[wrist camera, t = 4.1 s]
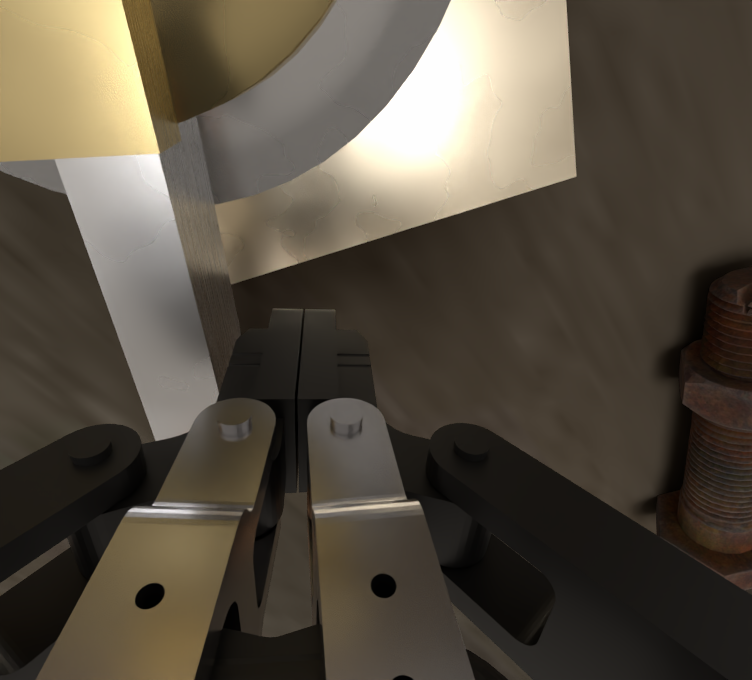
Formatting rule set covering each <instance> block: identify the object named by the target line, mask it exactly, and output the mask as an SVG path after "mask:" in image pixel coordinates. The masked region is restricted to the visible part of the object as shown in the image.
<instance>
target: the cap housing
mask: <svg viewBox="0 0 752 680" xmlns="http://www.w3.org/2000/svg"><path fill="white" fill-rule="evenodd" d="M196 117H197V122H198V127H199V132H200V137H201V141H202V146H203V151H204V156H205V161H206V166H207V171H208V175H209V180H210V185H211V190H212V195H213V200H214V205H215V209H216V214H217V219H218V224H219V229H220V234H221V239H222V244H223V248H224V253H225V258H226V263H227V268H228V273H229V278H230V282H231V284H234V283H237V282H241V281H244V280H247V279H250V278H253V277H257V276H260V275H263V274H266V273H269V272H273V271H276V270H279V269H282V268H285V267H289V266H292V265H295V264H298V263H301V262H305V261H308V260H311V259H314V258H317V257H321V256H324V255H327V254H330V253H333V252H337V251H340V250H343V249H346V248H349V247H353V246H356V245H359V244H362V243H365V242H369V241H372V240H375V239H378V238H381V237H385V236H388V235H391V234H394V233H397V232H401V231H404V230H407V229H410V228H413V227H417V226H420V225H423V224H426V223H429V222H433V221H436V220H439V219H442V218H445V217H449V216H452V215H455V214H458V213H461V212H465V211H468V210H471V209H474V208H477V207H481V206H484V205H487V204H490V203H493V202H497V201H500V200H503V199H506V198H509V197H513V196H516V195H519V194H522V193H525V192H529V191H532V190H535V189H538V188H541V187H545V186H548V185H551V184H554V183H557V182H561V181H564V180H567V179H570V178H573V177H576V161H575V144H574V126H573V109H572V92H571V75H570V57H569V40H568V23H567V5H566V0H337V2H336V3H335V5H334V6H333V8H332V9H331V11H330V13H329V14H328V16H327V17H326V19H325V20H324V22H323V23H322V25H321V27H320V28H319V29H318V30H317V32H316V33H315V34H314V35H313V36H312V37H311V39H310V40H309V41H308V42H307V43H306V44H305V46H304V47H303V48H302V49H301V50H300V51H299V53H298V54H297V55H296V56H294V57H293V58H292V59H291V60H290V61H289V62H288V63H286V64H285V65H284V66H283V67H282V68H281V69H280V70H279V71H277V72H276V73H275V74H274V75H273V76H271V77H270V78H268V79H267V80H265V81H263V82H262V83H260V84H259V85H257V86H256V87H254V88H253V89H251V90H249V91H248V92H246V93H244V94H242V95H240V96H238V97H236V98H234V99H232V100H230V101H228V102H226V103H224V104H222V105H220V106H218V107H215V108H213V109H211V110H209V111H206V112H204V113H202V114H200V115H197V116H196ZM0 171H3V172H5V173H7V174H9V175H12V176H15V177H18V178H20V179H23V180H26V181H28V182H31V183H34V184H36V185H39V186H42V187H44V188H47V189H50V190H52V191H56V192H60V193H64V194H67V193H66V190H65V187H64V185H63V182H62V179H61V176H60V174H59V171H58V168H57V165H56V162H55V160H54V159H47V160H27V161H8V162H0Z"/></svg>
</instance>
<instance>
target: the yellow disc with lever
mask: <svg viewBox="0 0 752 680" xmlns="http://www.w3.org/2000/svg"><path fill="white" fill-rule="evenodd" d="M336 2H337V0H0V162H8V161H27V160H47V159H54V160H55V162H56V165H57V168H58V171H59V174H60V176H61V179H62V182H63V185H64V187H65V190H66V193H67V196H68V199H69V201H70V204H71V207H72V210H73V212H74V215H75V218H76V221H77V224H78V226H79V229H80V232H81V235H82V237H83V240H84V243H85V246H86V249H87V251H88V254H89V257H90V260H91V262H92V265H93V268H94V271H95V274H96V276H97V279H98V282H99V285H100V287H101V290H102V293H103V296H104V298H105V301H106V304H107V307H108V310H109V312H110V315H111V318H112V321H113V323H114V326H115V329H116V332H117V335H118V337H119V340H120V343H121V346H122V348H123V351H124V354H125V357H126V360H127V362H128V365H129V368H130V371H131V373H132V376H133V379H134V382H135V385H136V387H137V390H138V393H139V396H140V398H141V401H142V404H143V407H144V410H145V412H146V415H147V418H148V421H149V423H150V426H151V429H152V432H153V434H154V437H155V440H156V441H159V440H163V439H168V438H172V437H175V436H179V435H182V434H184V433H187V432H189V430H190V428H191V426H192V424H193V422H194V420H195V419H196V417H197V416H198V415H199V413H200V412H201V411H203V410H204V409H205V408H207V407H208V406H210V405H212V404H214V403H216V401H217V398H218V395H219V392H220V389H221V386H222V383H223V380H224V376H225V373H226V370H227V367H229V361H230V358H231V355H232V352H233V349H234V345H235V342H236V339H238V338H239V337H240V336H241V331H240V326H239V321H238V316H237V312H236V307H235V302H234V297H233V292H232V287H231V282H230V278H229V273H228V268H227V263H226V258H225V253H224V248H223V244H222V239H221V234H220V229H219V224H218V219H217V214H216V209H215V205H214V200H213V195H212V190H211V185H210V180H209V175H208V171H207V166H206V161H205V156H204V151H203V146H202V141H201V137H200V132H199V127H198V122H197V117H196V116H197V115H200V114H202V113H204V112H206V111H209V110H211V109H213V108H215V107H218V106H220V105H222V104H224V103H226V102H228V101H230V100H232V99H234V98H236V97H238V96H240V95H242V94H244V93H246V92H248V91H249V90H251V89H253V88H254V87H256V86H257V85H259V84H260V83H262V82H263V81H265V80H267V79H268V78H270V77H271V76H273V75H274V74H275V73H276V72H277V71H279V70H280V69H281V68H282V67H283V66H284V65H285V64H286V63H288V62H289V61H290V60H291V59H292V58H293V57H294V56H296V55H297V54H298V53H299V51H300V50H301V49H302V48H303V47H304V46H305V44H306V43H307V42H308V41H309V40H310V39H311V37H312V36H313V35H314V34H315V33H316V32H317V30H318V29H319V28H320V27H321V25H322V23H323V22H324V20H325V19H326V17H327V16H328V14H329V13H330V11H331V9H332V8H333V6H334V5H335V3H336Z"/></svg>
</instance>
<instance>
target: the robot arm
mask: <svg viewBox="0 0 752 680" xmlns="http://www.w3.org/2000/svg"><path fill="white" fill-rule="evenodd" d="M298 463H299V492H307V509H308V510H307V528H308V548H309V568H310V588H311V607H312V626H310V627H307V628H304V629H301V630H298V631H295V632H292V633H288V634H285V635H282V636H278V637H271V638H269V637H262V627H263V619H264V614H265V608H266V603H267V598H268V592H269V587H270V582H271V577H272V571H273V566H274V561H275V555H276V550H277V545H278V539H279V534H280V528H281V519H280V517H281V515H282V512H283V506H284V495H285V493H296V492H297V478H298ZM492 533H493V534H494V535H495V536H494V535H493V534H492ZM497 537H498V538H499V539H500V540H499V539H498V538H497ZM65 538H67V539H68V542H69V545H70V548H69V549H67V550H66V551H64V552H63V553H61V554H60V555H59V556H57V557H56V558H54V559H53V560H51V561H50V562H48V563H47V564H46V565H44V566H43V567H41V568H40V569H38V570H37V571H36V572H34V573H33V574H31V575H30V576H28V577H27V578H26V579H24V580H23V581H21V582H20V583H18V584H17V585H16V586H14V587H13V588H11V589H10V590H8V591H7V592H6V593H4V594H3V595H1V596H0V680H508V679H507V678H506V677H504V676H503V675H502V674H501V673H500V672H498V671H497V670H496V669H495V668H494V667H492V666H491V665H490V664H489V663H488V662H486V661H485V660H483V659H481V658H480V657H478V656H477V655H475V654H474V653H472V652H471V651H469V650H467V649H465V645H464V642H463V639H462V636H461V632H460V629H459V626H458V623H457V619H456V616H455V613H454V610H453V606H452V603H453V604H454V605H455V606H456V607H457V608H458V609H459V610H460V611H461V612H462V613H463V614H464V615H465V616H467V617H468V618H469V619H470V620H471V621H472V622H473V623H474V624H475V625H476V626H477V627H478V628H479V629H480V630H481V631H482V632H483V633H484V634H486V635H487V636H488V637H489V638H490V639H491V640H492V641H493V642H494V643H495V644H496V645H497V646H498V647H499V648H500V649H501V650H502V651H503V652H504V653H506V654H507V655H508V656H509V657H510V658H511V659H512V660H513V661H514V662H515V663H516V664H517V665H518V666H519V667H520V668H521V669H522V670H523V671H524V672H526V673H527V674H528V675H529V676H530V677H531V678H532V679H533V680H752V595H751V594H749V593H748V592H746V591H744V590H743V589H741V588H740V587H738V586H736V585H735V584H733V583H732V582H730V581H728V580H727V579H725V578H724V577H722V576H721V575H719V574H717V573H716V572H714V571H713V570H711V569H709V568H708V567H706V566H705V565H703V564H701V563H700V562H698V561H697V560H695V559H694V558H692V557H690V556H689V555H687V554H686V553H684V552H682V551H681V550H679V549H678V548H676V547H674V546H673V545H671V544H670V543H668V542H667V541H665V540H663V539H662V538H660V537H659V536H657V535H655V534H654V533H652V532H651V531H649V530H647V529H646V528H644V527H643V526H641V525H639V524H638V523H636V522H635V521H633V520H632V519H630V518H628V517H627V516H625V515H624V514H622V513H620V512H619V511H617V510H616V509H614V508H612V507H611V506H609V505H608V504H606V503H605V502H603V501H601V500H600V499H598V498H597V497H595V496H593V495H592V494H590V493H589V492H587V491H585V490H584V489H582V488H581V487H579V486H578V485H576V484H574V483H573V482H571V481H570V480H568V479H566V478H565V477H563V476H562V475H560V474H558V473H557V472H555V471H554V470H552V469H551V468H549V467H547V466H546V465H544V464H543V463H541V462H539V461H538V460H536V459H535V458H533V457H531V456H530V455H528V454H527V453H525V452H524V451H522V450H520V449H519V448H517V447H516V446H514V445H512V444H511V443H509V442H508V441H506V440H504V439H503V438H501V437H500V436H498V435H496V434H495V433H493V432H491V431H490V430H488V429H485V428H483V427H480V426H477V425H473V424H466V423H455V424H449V425H446V426H443V427H441V428H440V429H438V430H437V431H436V432H435V433H434V434H433V435H432V437H431V439H430V440H429V439H425V438H420V437H416V436H412V435H408V434H405V433H403V432H400V431H398V430H396V429H394V428H392V427H391V426H390V425H388V424H387V423H386V422H385V419H384V417H383V415H382V413H381V412H380V411H379V410H378V409H377V404H376V397H375V390H374V384H373V377H372V370H371V363H370V357H369V349H368V343H367V340H366V339H365V338H364V337H363V336H362V335H361V334H360V333H359V332H358V331H357V330H336V314H335V310H328V309H305V316H304V310H303V309H276V308H273V309H272V312H271V317H270V321H269V326H268V329H256V328H249V329H248V330H247V331H246V332H245V333H243V334H242V335H241V336H240V337H239V338H238V339H236V342H235V345H234V349H233V352H232V355H231V358H230V361H229V367H227V370H226V373H225V376H224V380H223V383H222V386H221V389H220V392H219V395H218V398H217V401H216V403H214V404H212V405H210V406H208V407H207V408H205V409H204V410H203V411H201V412H200V413H199V415H198V416H197V417H196V419H195V420H194V422H193V424H192V426H191V428H190V430H189V432H187V433H184V434H182V435H179V436H175V437H172V438H168V439H163V440H159V441H154V442H150V443H145V444H141V440H140V437H139V435H138V434H137V432H135V431H134V430H133V429H131V428H129V427H126V426H123V425H117V424H102V425H95V426H90V427H86V428H83V429H80V430H77V431H75V432H73V433H71V434H68V435H66V436H64V437H63V438H61V439H59V440H57V441H55V442H53V443H51V444H49V445H47V446H45V447H44V448H42V449H40V450H38V451H36V452H34V453H32V454H30V455H28V456H26V457H24V458H23V459H21V460H19V461H17V462H15V463H13V464H11V465H9V466H7V467H5V468H3V469H2V470H0V583H1V582H2V581H3V580H5V579H6V578H8V577H9V576H11V575H12V574H14V573H15V572H17V571H18V570H20V569H21V568H23V567H24V566H26V565H27V564H28V563H30V562H31V561H33V560H34V559H36V558H37V557H39V556H40V555H42V554H43V553H45V552H46V551H48V550H49V549H51V548H52V547H53V546H55V545H56V544H58V543H59V542H61V541H62V540H64V539H65ZM502 541H503V542H504V543H505V544H504V543H503V542H502ZM506 544H507V545H508V546H509V547H508V546H507V545H506ZM511 548H512V549H513V550H514V551H513V550H512V549H511ZM516 552H517V553H518V554H519V555H518V554H517V553H516ZM520 555H521V556H522V557H523V558H522V557H521V556H520ZM525 559H526V560H527V561H528V562H527V561H526V560H525ZM530 563H531V564H532V565H533V566H532V565H531V564H530ZM534 566H535V567H536V568H537V569H536V568H535V567H534ZM539 570H540V571H541V572H542V573H541V572H540V571H539ZM451 602H452V603H451Z"/></svg>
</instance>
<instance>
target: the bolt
mask: <svg viewBox="0 0 752 680" xmlns="http://www.w3.org/2000/svg"><path fill="white" fill-rule="evenodd" d="M705 319H706V320H705V322H704V328H703V336H702V339H701V340H697V341H694V342H692V343H690V344H689V345H688V346H686V347H685V348H683V349H682V350H681V357H680V367H679V386H680V396H681V400H682V403H683V404H684V405H685V406H687V407H688V408H690V409H691V410H693V412H692V421H691V429H690V435H689V443H688V450H687V457H686V466H685V475H684V481H683V485H682V487H681V490H678V491H674V492H670V493H666V494H661V495H658V497H657V508H656V528H657V536H659V537H660V538H662V539H663V540H665V541H667V542H668V543H670V544H671V545H673V546H674V547H676V548H678V549H679V550H681V551H682V552H684V553H686V554H687V555H689V556H690V557H692V558H694V559H695V560H697V561H698V562H700V563H701V564H703V565H705V566H706V567H708V568H709V569H711V570H713V571H714V572H716V573H717V574H719V575H721V576H722V577H724V578H725V579H727V580H728V581H730V582H732V583H733V584H735V585H736V586H738V587H740V588H741V589H743V590H747V589H752V267H747V268H742V269H737V270H734V271H731V272H729V273H727V274H725V275H724V276H723V277H720V278H718V279H716V280H715V281H714V282H713V283H711V285H710V287H709V292H708V298H707V306H706V314H705Z"/></svg>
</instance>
